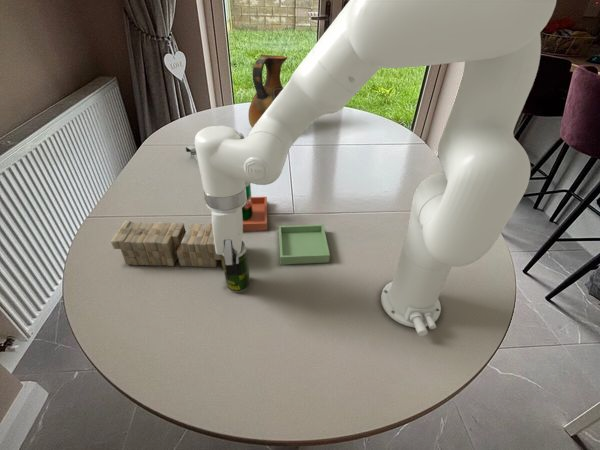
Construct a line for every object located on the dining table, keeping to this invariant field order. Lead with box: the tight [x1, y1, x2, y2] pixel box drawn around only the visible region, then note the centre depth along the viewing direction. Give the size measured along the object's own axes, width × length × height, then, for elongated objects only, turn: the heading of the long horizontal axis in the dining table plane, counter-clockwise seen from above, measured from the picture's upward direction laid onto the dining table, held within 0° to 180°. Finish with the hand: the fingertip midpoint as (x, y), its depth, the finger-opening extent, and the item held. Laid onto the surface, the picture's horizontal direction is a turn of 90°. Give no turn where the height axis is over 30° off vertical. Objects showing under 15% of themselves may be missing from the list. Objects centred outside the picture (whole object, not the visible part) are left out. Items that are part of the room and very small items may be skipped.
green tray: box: [278, 224, 331, 265], centre depth 87 cm, size 12×12×2 cm
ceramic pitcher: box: [248, 54, 288, 128], centre depth 138 cm, size 20×20×30 cm
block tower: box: [110, 220, 223, 268], centre depth 82 cm, size 8×8×29 cm
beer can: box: [221, 240, 251, 293], centre depth 73 cm, size 5×5×12 cm
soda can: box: [242, 181, 253, 220], centre depth 93 cm, size 5×5×12 cm
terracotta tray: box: [243, 196, 268, 232], centre depth 96 cm, size 13×13×2 cm
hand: (235, 263), depth 73 cm, fingers closed on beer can, 5 cm apart
